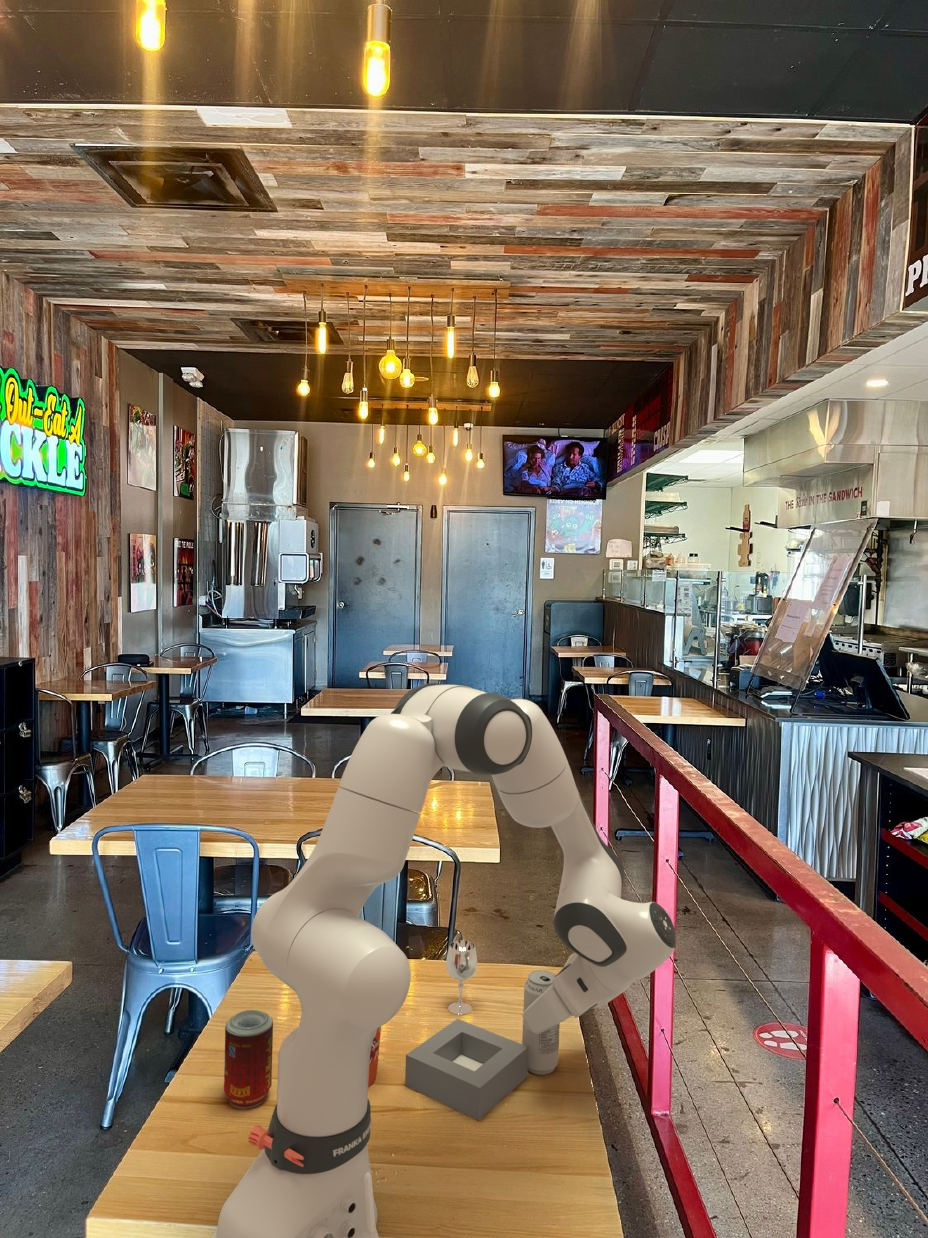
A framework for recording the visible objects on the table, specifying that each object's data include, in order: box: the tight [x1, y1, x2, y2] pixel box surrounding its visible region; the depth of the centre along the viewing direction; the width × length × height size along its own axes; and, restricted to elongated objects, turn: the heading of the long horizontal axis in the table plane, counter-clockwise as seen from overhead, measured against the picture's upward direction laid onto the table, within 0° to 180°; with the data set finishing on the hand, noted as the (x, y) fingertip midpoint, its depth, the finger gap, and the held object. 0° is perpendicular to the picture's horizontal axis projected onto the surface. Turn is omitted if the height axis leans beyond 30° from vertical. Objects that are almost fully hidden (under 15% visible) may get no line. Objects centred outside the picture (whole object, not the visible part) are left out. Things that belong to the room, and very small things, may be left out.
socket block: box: [404, 1018, 528, 1121], centre depth 134 cm, size 14×14×5 cm
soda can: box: [223, 1009, 274, 1109], centre depth 128 cm, size 7×7×12 cm
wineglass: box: [445, 939, 478, 1016], centre depth 157 cm, size 6×6×12 cm
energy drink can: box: [521, 969, 561, 1076], centre depth 139 cm, size 6×6×15 cm
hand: (538, 1015), depth 139 cm, fingers closed on energy drink can, 6 cm apart
